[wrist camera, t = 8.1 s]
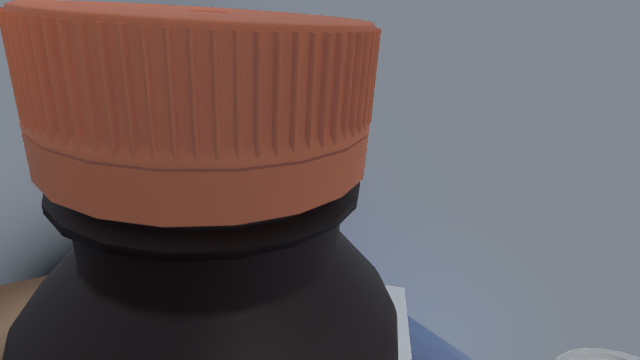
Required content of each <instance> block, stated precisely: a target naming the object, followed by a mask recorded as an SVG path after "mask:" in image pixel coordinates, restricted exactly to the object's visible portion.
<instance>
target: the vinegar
mask: <svg viewBox="0 0 640 360" xmlns="http://www.w3.org/2000/svg"><path fill="white" fill-rule="evenodd" d="M0 29H1V33H2V38H3V43H4V47H5V52H6V57H7V62H8V66H9V71H10V76H11V81H12V86H13V91H14V96H15V100H16V105H17V110H18V115H19V120H20V127H21V131H22V137H23V142H24V146H25V151H26V156H27V161H28V165H29V170H30V175H31V180H32V182H33V183H34V184H35V185H36V186H37V187H38V188H39V189H40V190H41V192H42V193H43V199H42V209H43V214H44V215H45V216H46V217H47V219H49V221H50V222H51V223H52V224H53V225H54V227H55V228H56V229H57V230H58V231H59V232H60V234H61V235H62V236H64V237H66V238H69V239H72V241H73V246H74V247H73V249H72V250H71V251H70V252H69V253H68V254H67V255H66V256H65V257H64V258H63V259H62V261H61V262H60V263H59V264H58V265H57V266H56V267H55V268H54V269H53V270H52V271H51V272H50V274H49V275H48V276H47V277H46V278H45V279H44V280H43V281H42V282H41V284H40V285H39V286H38V288H37V289H36V291H35V292H34V294H33V295H32V296H31V298H30V299H29V301H28V302H27V304H26V305H25V306H24V308H23V309H22V311H21V312H20V314H19V315H18V316H17V318H16V319H15V321H14V322H13V324H12V325H11V327H10V328H9V331H8V334H7V338H6V343H5V348H4V353H3V358H2V360H398V327H397V312H396V308H395V305H394V303H393V301H392V299H391V297H390V295H389V293H388V291H387V289H386V287H385V285H384V283H383V281H382V279H381V277H380V275H379V273H378V272H377V270H376V269H375V267H374V266H373V265H372V264H371V263H370V262H369V261H368V260H367V259H366V258H365V257H364V256H363V255H362V254H361V253H360V252H359V251H358V250H357V249H356V248H355V247H354V246H353V245H352V243H351V242H349V240H348V239H347V238H346V237H345V236H344V235H343V234H342V233H341V232H340V231H339V227H340V223H341V222H342V221H343V220H344V219H345V218H346V217H347V216H348V215H349V214H350V213H351V212H352V211H353V210H355V209H356V206H357V200H358V193H359V187H360V181H361V180H362V179H363V175H364V168H365V160H366V151H367V142H368V132H369V123H370V122H371V115H372V106H373V97H374V88H375V79H376V70H377V69H376V68H377V61H378V51H379V42H380V33H381V29H380V28H376V27H375V25H374V23H373V22H369V21H364V20H358V19H350V18H341V17H331V16H321V15H309V14H297V13H284V12H271V11H258V10H243V9H229V8H213V7H197V6H178V5H159V4H138V3H117V2H92V1H56V0H22V1H21V0H20V1H19V0H17V1H11V2H7V3H5V4H4V7H3V8H2V7H1V8H0Z"/></svg>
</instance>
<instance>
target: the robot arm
mask: <svg viewBox="0 0 640 360" xmlns="http://www.w3.org/2000/svg"><path fill="white" fill-rule="evenodd" d="M385 287H386V289H387V291H388V293H389V295H390V297H391V299H392V301H393V303H394V305H395V308H396V312H397V327H398V360H412V355H411V345H410V336H409V326H408V317H407V307H406V298H405V289H404V288H402V287H395V286H389V285H385Z"/></svg>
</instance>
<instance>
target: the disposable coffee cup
mask: <svg viewBox="0 0 640 360" xmlns="http://www.w3.org/2000/svg"><path fill="white" fill-rule="evenodd" d="M554 360H640V357H637V356H634V355H631V354H627V353H624V352H620V351H615V350H610V349H602V348H591V347H590V348H579V349H572V350H570V351H567V352H565V353H563V354H560V355H558V356H557V357H556V358H555V359H554Z"/></svg>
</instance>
